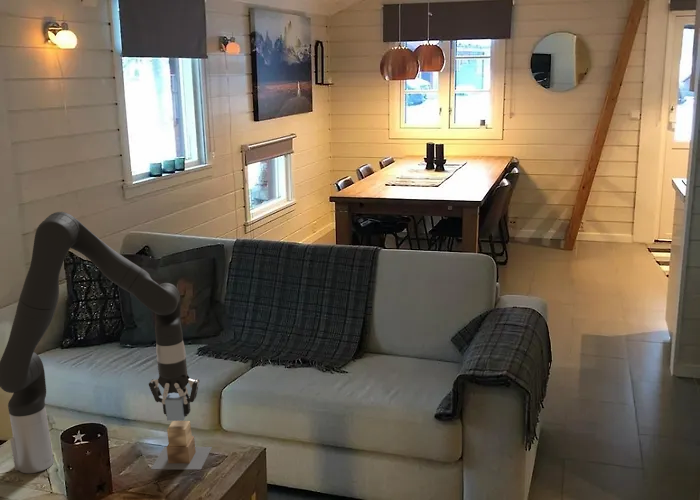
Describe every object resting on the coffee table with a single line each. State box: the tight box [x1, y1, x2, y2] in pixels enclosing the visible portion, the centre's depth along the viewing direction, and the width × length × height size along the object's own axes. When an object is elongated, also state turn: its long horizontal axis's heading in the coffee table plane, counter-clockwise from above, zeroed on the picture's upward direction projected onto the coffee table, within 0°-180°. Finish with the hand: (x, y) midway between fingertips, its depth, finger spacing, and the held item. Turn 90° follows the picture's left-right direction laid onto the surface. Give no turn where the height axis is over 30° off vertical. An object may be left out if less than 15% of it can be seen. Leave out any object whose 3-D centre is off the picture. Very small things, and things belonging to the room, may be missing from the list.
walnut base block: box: [166, 435, 196, 463], centre depth 208 cm, size 6×6×5 cm
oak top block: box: [167, 420, 193, 446], centre depth 206 cm, size 5×5×5 cm
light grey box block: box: [165, 393, 187, 422], centre depth 204 cm, size 4×4×6 cm
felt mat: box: [150, 446, 213, 471], centre depth 208 cm, size 14×12×1 cm
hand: (177, 414), depth 205 cm, fingers closed on light grey box block, 4 cm apart
